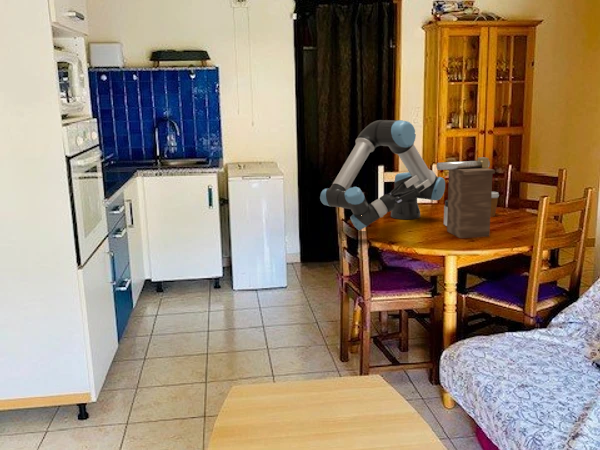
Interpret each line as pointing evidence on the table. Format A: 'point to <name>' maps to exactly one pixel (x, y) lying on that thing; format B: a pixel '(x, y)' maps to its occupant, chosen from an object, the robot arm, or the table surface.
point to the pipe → (464, 164)
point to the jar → (445, 212)
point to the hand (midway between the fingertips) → (423, 179)
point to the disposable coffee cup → (494, 202)
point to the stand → (469, 202)
